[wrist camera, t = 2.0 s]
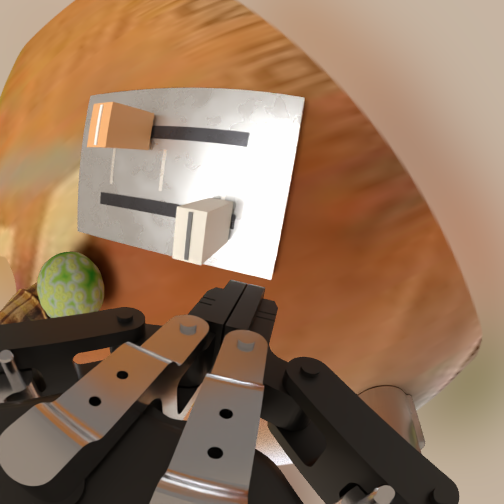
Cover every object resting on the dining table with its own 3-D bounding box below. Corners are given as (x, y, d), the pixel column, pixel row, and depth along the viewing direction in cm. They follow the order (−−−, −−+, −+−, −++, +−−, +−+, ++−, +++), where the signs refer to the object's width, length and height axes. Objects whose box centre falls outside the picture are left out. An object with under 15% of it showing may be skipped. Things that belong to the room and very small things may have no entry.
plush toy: (103, 342, 37) (-28, 396, 13) (70, 353, 41) (-31, 394, 18) (73, 260, 38) (-61, 281, 14) (45, 286, 42) (-58, 308, 19)
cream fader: (233, 201, 25) (206, 212, 19) (227, 242, 27) (200, 266, 20) (209, 197, 26) (175, 206, 19) (204, 237, 27) (171, 258, 20)
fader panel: (304, 102, 24) (304, 97, 22) (273, 273, 29) (270, 280, 27) (99, 98, 27) (89, 95, 25) (86, 228, 33) (76, 231, 31)
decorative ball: (92, 229, 33) (37, 249, 23) (129, 291, 34) (81, 326, 24) (63, 263, 36) (17, 285, 26) (96, 316, 37) (54, 347, 28)
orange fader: (154, 113, 24) (111, 101, 18) (148, 150, 26) (104, 147, 19) (136, 113, 25) (92, 103, 18) (130, 149, 26) (85, 147, 19)
